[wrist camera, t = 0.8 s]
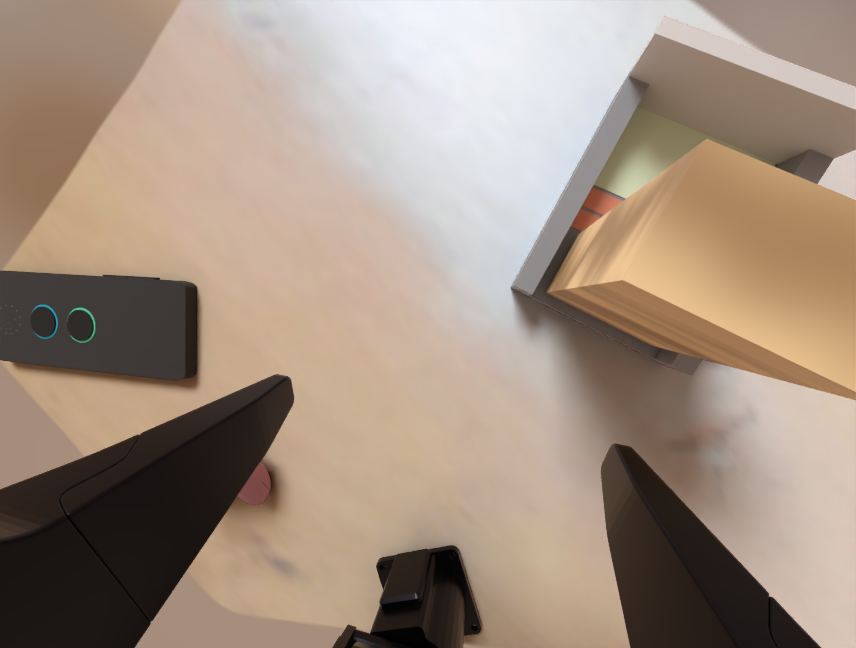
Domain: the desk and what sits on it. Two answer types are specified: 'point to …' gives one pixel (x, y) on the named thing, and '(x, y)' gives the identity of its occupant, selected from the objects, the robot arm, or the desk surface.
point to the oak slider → (727, 269)
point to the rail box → (690, 141)
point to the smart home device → (100, 323)
